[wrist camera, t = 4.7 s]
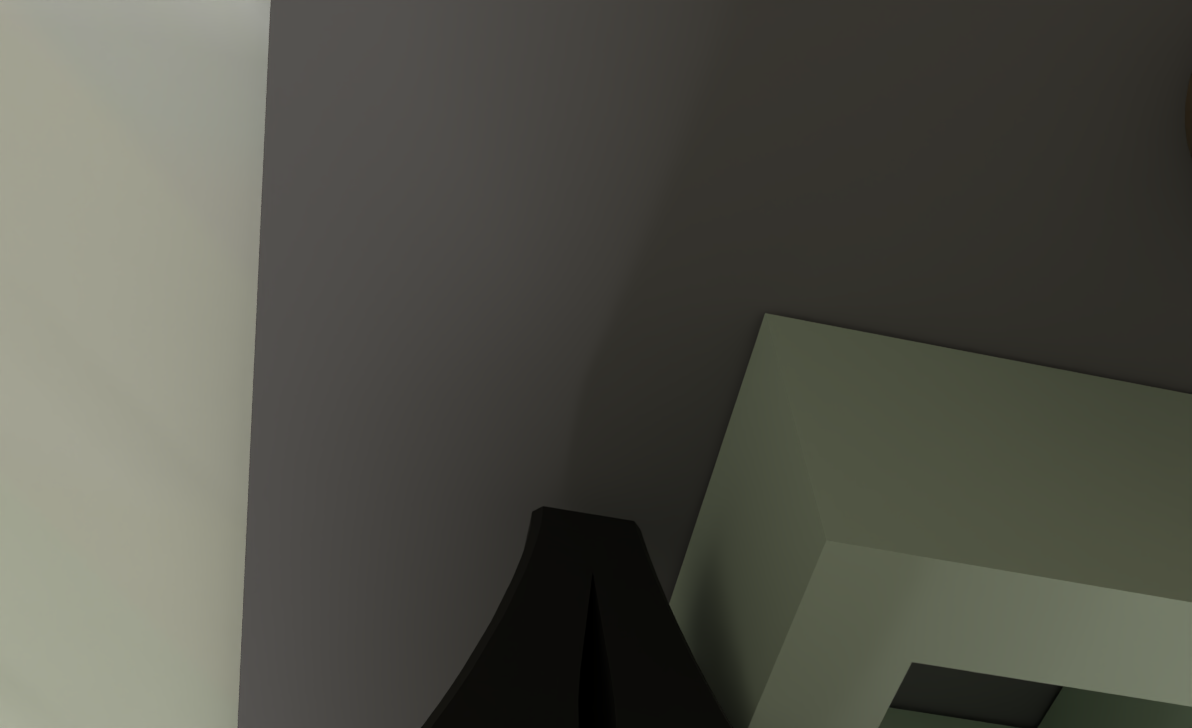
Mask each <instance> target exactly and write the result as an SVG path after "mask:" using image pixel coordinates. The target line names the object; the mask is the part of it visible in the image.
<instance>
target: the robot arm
mask: <svg viewBox="0 0 1192 728" xmlns="http://www.w3.org/2000/svg"><path fill="white" fill-rule="evenodd" d="M421 728H733V726H732V725H731V723H730V721H729V720H728V718H727V716H726V715H725V713H724V711H723V709H722V707H721V706H720V704H719V702H718V700H717V699H716V697H715V695H714V693H713V692H712V690H711V688H710V686H709V684H708V683H707V681H706V679H705V677H704V675H703V673H702V671H701V669H700V667H699V666H698V664H697V662H696V660H695V658H694V656H693V654H692V652H691V649H690V647H689V645H688V643H687V641H686V639H685V637H684V635H683V633H682V631H681V629H680V627H679V625H678V623H677V621H676V618H675V616H674V614H673V612H672V610H671V607H670V605H669V603H668V600H667V598H666V596H665V593H664V591H663V589H662V586H661V584H660V581H659V579H658V577H657V574H656V571H655V569H654V566H653V564H652V561H651V558H650V556H649V553H648V550H647V547H646V544H645V542H644V539H643V536H642V532H641V530H640V528H639V527H638V525H637V524H636V523H635V521H631V520H625V519H619V518H613V517H607V516H601V515H595V514H589V513H583V512H577V511H570V510H564V509H558V508H552V507H546V506H542V507H540V508H538V509H536V510H534V511H533V512H532V515H531V519H530V524H529V528H528V533H527V538H526V542H525V547H524V551H523V554H522V556H521V559H520V561H519V564H518V566H517V569H516V571H515V573H514V576H513V578H512V580H511V582H510V584H509V586H508V588H507V590H506V592H505V594H504V596H503V598H502V600H501V602H500V604H499V606H498V608H497V610H496V612H495V614H494V616H493V618H492V620H491V622H490V624H489V626H488V627H487V629H486V631H485V632H484V634H483V636H482V637H481V639H480V641H479V642H478V644H477V646H476V647H475V649H474V651H473V652H472V654H471V655H470V657H469V659H468V660H467V662H466V664H465V665H464V667H463V669H462V670H461V672H460V673H459V675H458V676H457V678H456V679H455V681H454V682H453V684H452V685H451V687H450V688H449V690H448V691H447V693H446V694H445V695H444V697H443V698H442V700H441V701H440V703H439V704H438V705H437V707H436V708H435V709H434V711H433V712H432V713H431V715H430V716H429V718H428V719H427V720H426V722H425V723H424V724H423V726H422V727H421Z"/></svg>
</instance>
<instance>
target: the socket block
mask: <svg viewBox="0 0 1192 728" xmlns="http://www.w3.org/2000/svg"><path fill="white" fill-rule="evenodd" d="M669 605H670V607H671V610H672V612H673V614H674V616H675V618H676V621H677V623H678V625H679V627H680V629H681V631H682V633H683V635H684V637H685V639H686V641H687V643H688V645H689V647H690V649H691V652H692V654H693V656H694V658H695V660H696V662H697V664H698V666H699V667H700V669H701V671H702V673H703V675H704V677H705V679H706V681H707V683H708V684H709V686H710V688H711V690H712V692H713V693H714V695H715V697H716V699H717V700H718V702H719V704H720V706H721V707H722V709H723V711H724V713H725V715H726V716H727V718H728V720H729V721H730V723H731V725H732V726H733V728H1019V727H1012V726H1006V725H999V724H993V723H986V722H980V721H973V720H967V719H961V718H954V717H948V716H941V715H935V714H928V713H922V712H915V711H909V710H902V709H896V708H889V706H890V704H891V702H892V700H893V698H894V696H895V694H896V692H897V690H898V688H899V686H900V684H901V682H902V681H903V679H904V677H905V675H906V673H907V671H908V669H909V667H910V665H911V663H912V662H915V663H921V664H928V665H934V666H940V667H946V668H953V669H959V670H965V671H971V672H978V673H984V674H990V675H996V676H1003V677H1009V678H1015V679H1022V680H1028V681H1034V682H1040V683H1047V684H1053V685H1059V686H1063V688H1062V689H1061V691H1060V693H1059V694H1058V696H1057V697H1056V699H1055V701H1054V702H1053V704H1052V705H1051V707H1050V709H1049V710H1048V712H1047V713H1046V715H1045V717H1044V718H1043V720H1042V721H1041V723H1040V725H1039V726H1038V728H1192V394H1187V393H1182V392H1177V391H1172V390H1166V389H1161V388H1156V387H1151V386H1145V385H1140V384H1135V383H1130V382H1124V381H1119V380H1114V379H1109V378H1103V377H1098V376H1093V375H1088V374H1082V373H1077V372H1072V371H1067V370H1061V369H1056V368H1051V367H1046V366H1040V365H1035V364H1030V363H1025V362H1019V361H1014V360H1009V359H1004V358H998V357H993V356H988V355H983V354H977V353H972V352H967V351H962V350H956V349H951V348H946V347H941V346H935V345H930V344H925V343H920V342H914V341H909V340H904V339H899V338H893V337H888V336H883V335H878V334H872V333H867V332H862V331H857V330H851V329H846V328H841V327H836V326H830V325H825V324H820V323H815V322H809V321H804V320H799V319H794V318H788V317H783V316H778V315H773V314H767V313H765V315H764V318H763V321H762V324H761V327H760V330H759V333H758V336H757V339H756V342H755V345H754V348H753V351H752V354H751V357H750V360H749V364H748V367H747V370H746V373H745V376H744V379H743V382H742V385H741V388H740V391H739V394H738V397H737V400H736V403H735V406H734V409H733V412H732V415H731V418H730V421H729V424H728V427H727V430H726V433H725V436H724V439H723V442H722V445H721V448H720V451H719V454H718V457H717V461H716V464H715V467H714V470H713V473H712V476H711V479H710V482H709V485H708V488H707V491H706V494H705V497H704V500H703V503H702V506H701V509H700V512H699V515H698V518H697V521H696V524H695V527H694V530H693V533H692V536H691V539H690V542H689V545H688V548H687V551H686V554H685V557H684V561H683V564H682V567H681V570H680V573H679V576H678V579H677V582H676V585H675V588H674V591H673V594H672V597H671V600H670V603H669Z"/></svg>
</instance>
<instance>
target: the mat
mask: <svg viewBox="0 0 1192 728" xmlns="http://www.w3.org/2000/svg"><path fill="white" fill-rule="evenodd" d="M1191 74H1192V0H271V7H270V28H269V50H268V72H267V94H266V116H265V138H264V160H263V182H262V204H261V226H260V248H259V270H258V292H257V313H256V335H255V357H254V379H253V401H252V423H251V445H250V467H249V489H248V511H247V533H246V555H245V576H244V598H243V620H242V642H241V664H240V686H239V708H238V728H421V727H422V726H423V724H424V723H425V722H426V720H427V719H428V718H429V716H430V715H431V713H432V712H433V711H434V709H435V708H436V707H437V705H438V704H439V703H440V701H441V700H442V698H443V697H444V695H445V694H446V693H447V691H448V690H449V688H450V687H451V685H452V684H453V682H454V681H455V679H456V678H457V676H458V675H459V673H460V672H461V670H462V669H463V667H464V665H465V664H466V662H467V660H468V659H469V657H470V655H471V654H472V652H473V651H474V649H475V647H476V646H477V644H478V642H479V641H480V639H481V637H482V636H483V634H484V632H485V631H486V629H487V627H488V626H489V624H490V622H491V620H492V618H493V616H494V614H495V612H496V610H497V608H498V606H499V604H500V602H501V600H502V598H503V596H504V594H505V592H506V590H507V588H508V586H509V584H510V582H511V580H512V578H513V576H514V573H515V571H516V569H517V566H518V564H519V561H520V559H521V556H522V554H523V551H524V547H525V542H526V538H527V533H528V528H529V524H530V519H531V515H532V512H533V511H534V510H536V509H538V508H540V507H542V506H546V507H552V508H558V509H564V510H570V511H577V512H583V513H589V514H595V515H601V516H607V517H613V518H619V519H625V520H631V521H635V523H636V524H637V525H638V527H639V528H640V530H641V532H642V536H643V539H644V542H645V544H646V547H647V550H648V553H649V556H650V558H651V561H652V564H653V566H654V569H655V571H656V574H657V577H658V579H659V581H660V584H661V586H662V589H663V591H664V593H665V596H666V598H667V600H668V603H670V600H671V597H672V594H673V591H674V588H675V585H676V582H677V579H678V576H679V573H680V570H681V567H682V564H683V561H684V557H685V554H686V551H687V548H688V545H689V542H690V539H691V536H692V533H693V530H694V527H695V524H696V521H697V518H698V515H699V512H700V509H701V506H702V503H703V500H704V497H705V494H706V491H707V488H708V485H709V482H710V479H711V476H712V473H713V470H714V467H715V464H716V461H717V457H718V454H719V451H720V448H721V445H722V442H723V439H724V436H725V433H726V430H727V427H728V424H729V421H730V418H731V415H732V412H733V409H734V406H735V403H736V400H737V397H738V394H739V391H740V388H741V385H742V382H743V379H744V376H745V373H746V370H747V367H748V364H749V360H750V357H751V354H752V351H753V348H754V345H755V342H756V339H757V336H758V333H759V330H760V327H761V324H762V321H763V318H764V315H765V313H767V314H773V315H778V316H783V317H788V318H794V319H799V320H804V321H809V322H815V323H820V324H825V325H830V326H836V327H841V328H846V329H851V330H857V331H862V332H867V333H872V334H878V335H883V336H888V337H893V338H899V339H904V340H909V341H914V342H920V343H925V344H930V345H935V346H941V347H946V348H951V349H956V350H962V351H967V352H972V353H977V354H983V355H988V356H993V357H998V358H1004V359H1009V360H1014V361H1019V362H1025V363H1030V364H1035V365H1040V366H1046V367H1051V368H1056V369H1061V370H1067V371H1072V372H1077V373H1082V374H1088V375H1093V376H1098V377H1103V378H1109V379H1114V380H1119V381H1124V382H1130V383H1135V384H1140V385H1145V386H1151V387H1156V388H1161V389H1166V390H1172V391H1177V392H1182V393H1187V394H1192V158H1191V154H1190V151H1189V147H1188V144H1187V138H1186V129H1185V104H1186V97H1187V91H1188V85H1189V80H1190V77H1191ZM1062 688H1063V686H1059V685H1053V684H1047V683H1040V682H1034V681H1028V680H1022V679H1015V678H1009V677H1003V676H996V675H990V674H984V673H978V672H971V671H965V670H959V669H953V668H946V667H940V666H934V665H928V664H921V663H915V662H912V663H911V665H910V667H909V669H908V671H907V673H906V675H905V677H904V679H903V681H902V682H901V684H900V686H899V688H898V690H897V692H896V694H895V696H894V698H893V700H892V702H891V704H890V706H889V708H896V709H902V710H909V711H915V712H922V713H928V714H935V715H941V716H948V717H954V718H961V719H967V720H973V721H980V722H986V723H993V724H999V725H1006V726H1012V727H1019V728H1038V726H1039V725H1040V723H1041V721H1042V720H1043V718H1044V717H1045V715H1046V713H1047V712H1048V710H1049V709H1050V707H1051V705H1052V704H1053V702H1054V701H1055V699H1056V697H1057V696H1058V694H1059V693H1060V691H1061V689H1062Z"/></svg>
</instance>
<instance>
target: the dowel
mask: <svg viewBox="0 0 1192 728" xmlns="http://www.w3.org/2000/svg"><path fill="white" fill-rule="evenodd" d="M1185 129H1186V138H1187V144H1188V147H1189V151H1190V154H1191V158H1192V74H1191V77H1190V80H1189V85H1188V91H1187V97H1186V104H1185Z"/></svg>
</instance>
